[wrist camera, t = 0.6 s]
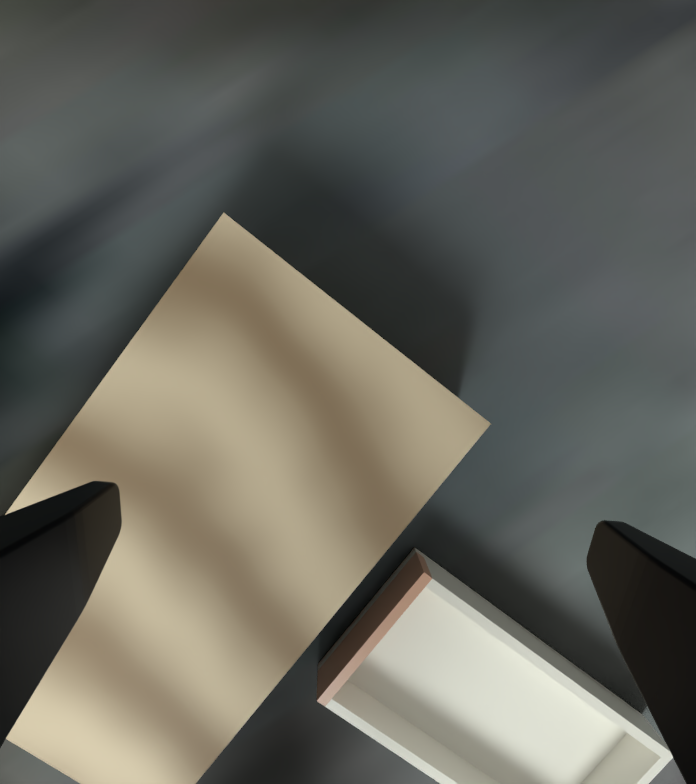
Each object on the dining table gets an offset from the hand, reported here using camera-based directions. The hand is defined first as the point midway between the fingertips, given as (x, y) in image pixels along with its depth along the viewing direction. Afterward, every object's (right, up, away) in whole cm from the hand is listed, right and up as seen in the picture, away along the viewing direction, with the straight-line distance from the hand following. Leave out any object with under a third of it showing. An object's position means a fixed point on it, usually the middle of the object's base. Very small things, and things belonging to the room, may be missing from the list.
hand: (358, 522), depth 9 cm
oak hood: (-6, -3, +15) cm, 16 cm away
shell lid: (+7, -13, +17) cm, 22 cm away
